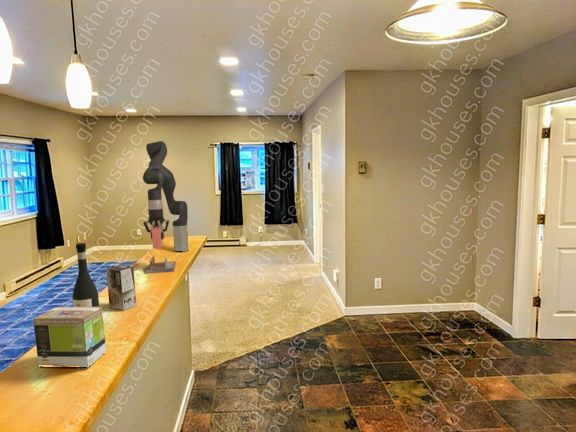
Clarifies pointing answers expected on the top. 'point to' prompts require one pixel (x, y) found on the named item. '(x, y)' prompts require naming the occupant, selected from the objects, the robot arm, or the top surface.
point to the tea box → (70, 336)
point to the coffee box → (121, 287)
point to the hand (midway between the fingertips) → (157, 239)
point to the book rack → (159, 267)
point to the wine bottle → (84, 282)
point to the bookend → (167, 263)
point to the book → (157, 237)
